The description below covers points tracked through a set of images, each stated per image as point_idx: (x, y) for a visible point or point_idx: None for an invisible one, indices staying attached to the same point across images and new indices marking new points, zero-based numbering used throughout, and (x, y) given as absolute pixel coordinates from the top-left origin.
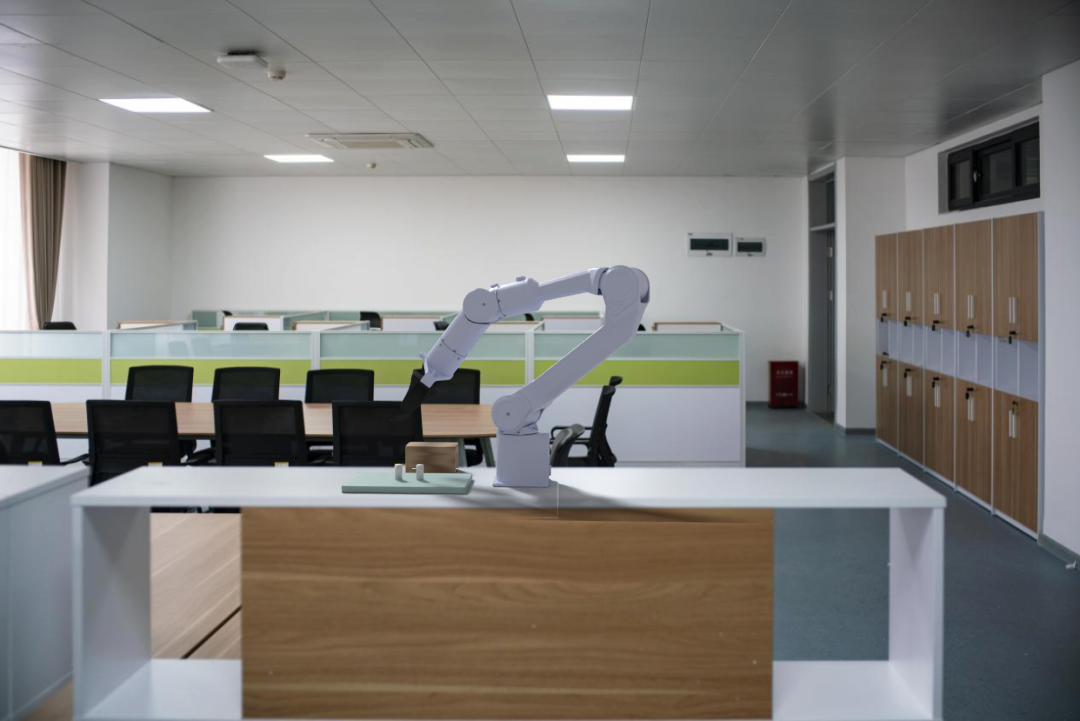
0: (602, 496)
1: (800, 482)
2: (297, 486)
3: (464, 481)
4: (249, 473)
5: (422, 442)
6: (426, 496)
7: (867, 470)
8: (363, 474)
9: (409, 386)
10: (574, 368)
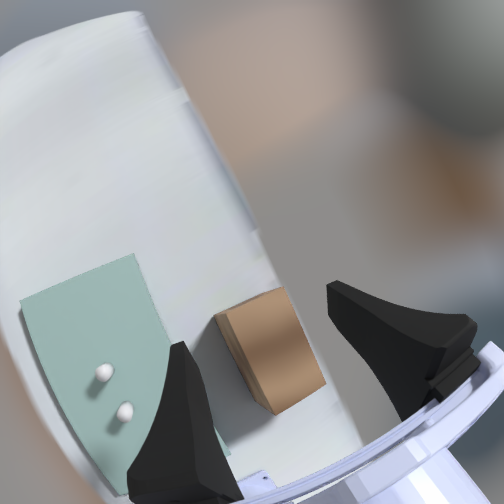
0: None
1: None
2: (48, 199)
3: None
4: (124, 86)
5: (291, 316)
6: (75, 445)
7: None
8: (117, 276)
9: (149, 431)
10: None
